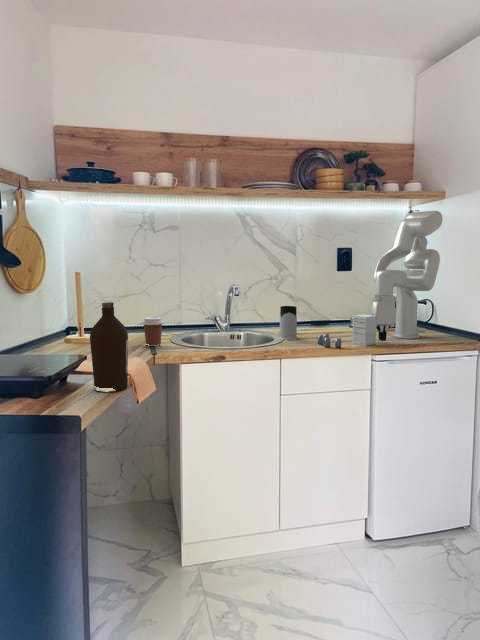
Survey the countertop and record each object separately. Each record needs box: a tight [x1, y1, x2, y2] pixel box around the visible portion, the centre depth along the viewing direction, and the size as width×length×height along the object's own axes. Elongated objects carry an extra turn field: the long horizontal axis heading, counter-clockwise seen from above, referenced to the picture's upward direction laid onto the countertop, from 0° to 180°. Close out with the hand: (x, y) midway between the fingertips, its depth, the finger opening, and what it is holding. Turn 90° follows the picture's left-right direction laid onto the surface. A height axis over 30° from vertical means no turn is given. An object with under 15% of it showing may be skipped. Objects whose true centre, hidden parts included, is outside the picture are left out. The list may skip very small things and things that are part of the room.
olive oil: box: [89, 301, 129, 393], centre depth 134 cm, size 11×11×25 cm
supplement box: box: [351, 313, 377, 347], centre depth 204 cm, size 7×7×13 cm
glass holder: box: [279, 305, 298, 341], centre depth 221 cm, size 9×14×15 cm, turn 179°
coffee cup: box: [141, 316, 164, 347], centre depth 202 cm, size 9×9×12 cm
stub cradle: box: [317, 333, 342, 350], centre depth 201 cm, size 6×15×4 cm, turn 13°
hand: (382, 340), depth 206 cm, fingers closed
